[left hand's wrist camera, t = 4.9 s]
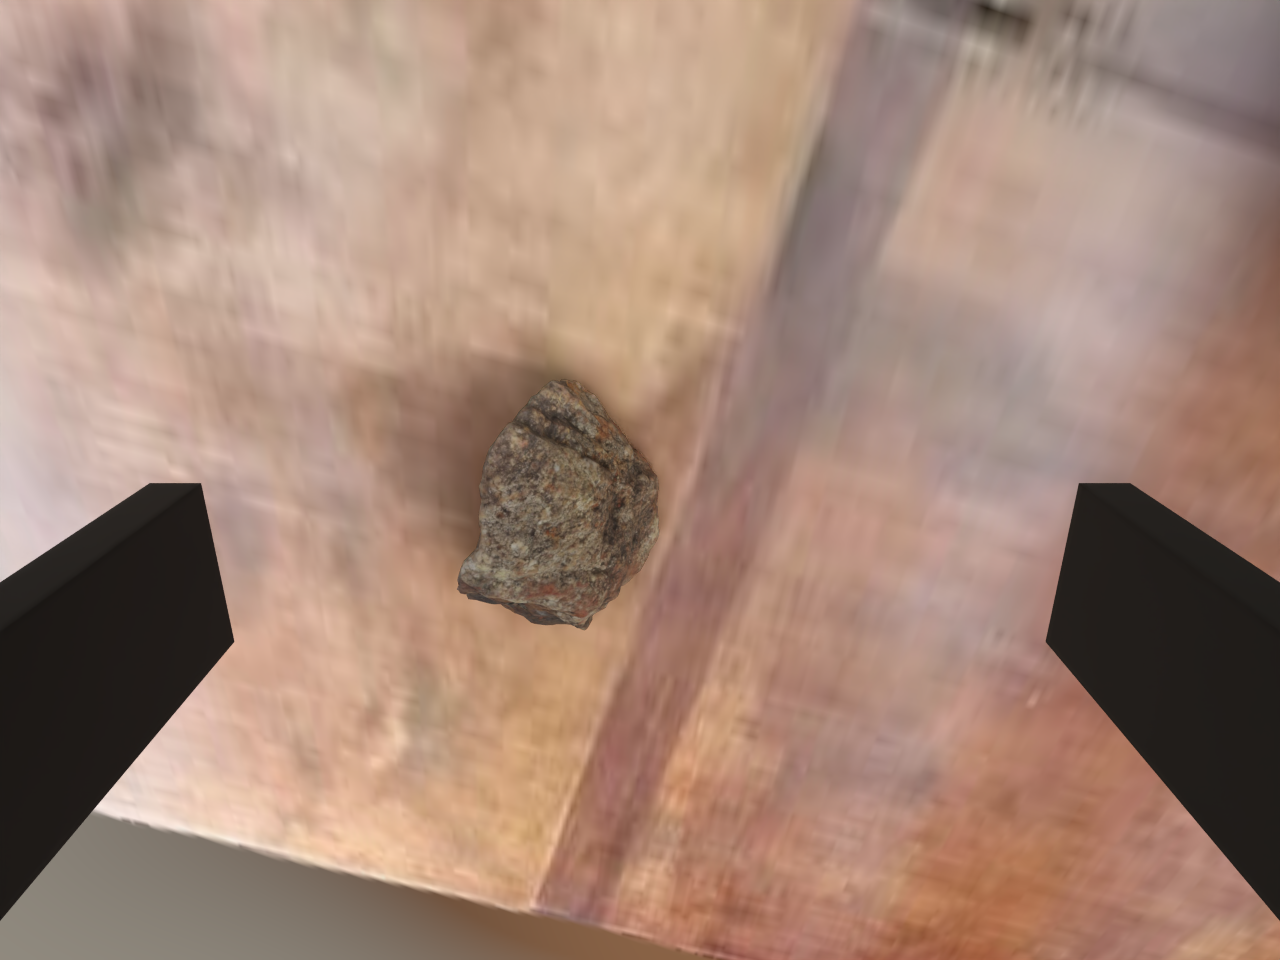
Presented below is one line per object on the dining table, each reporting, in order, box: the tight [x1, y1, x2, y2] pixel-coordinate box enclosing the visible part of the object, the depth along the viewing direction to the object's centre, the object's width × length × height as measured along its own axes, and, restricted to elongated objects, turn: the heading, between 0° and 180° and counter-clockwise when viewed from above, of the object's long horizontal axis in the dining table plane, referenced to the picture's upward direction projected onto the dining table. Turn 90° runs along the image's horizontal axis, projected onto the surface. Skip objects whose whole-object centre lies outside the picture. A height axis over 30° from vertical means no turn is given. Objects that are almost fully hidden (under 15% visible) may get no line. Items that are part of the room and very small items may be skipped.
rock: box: [457, 380, 659, 630], centre depth 41 cm, size 14×9×10 cm
